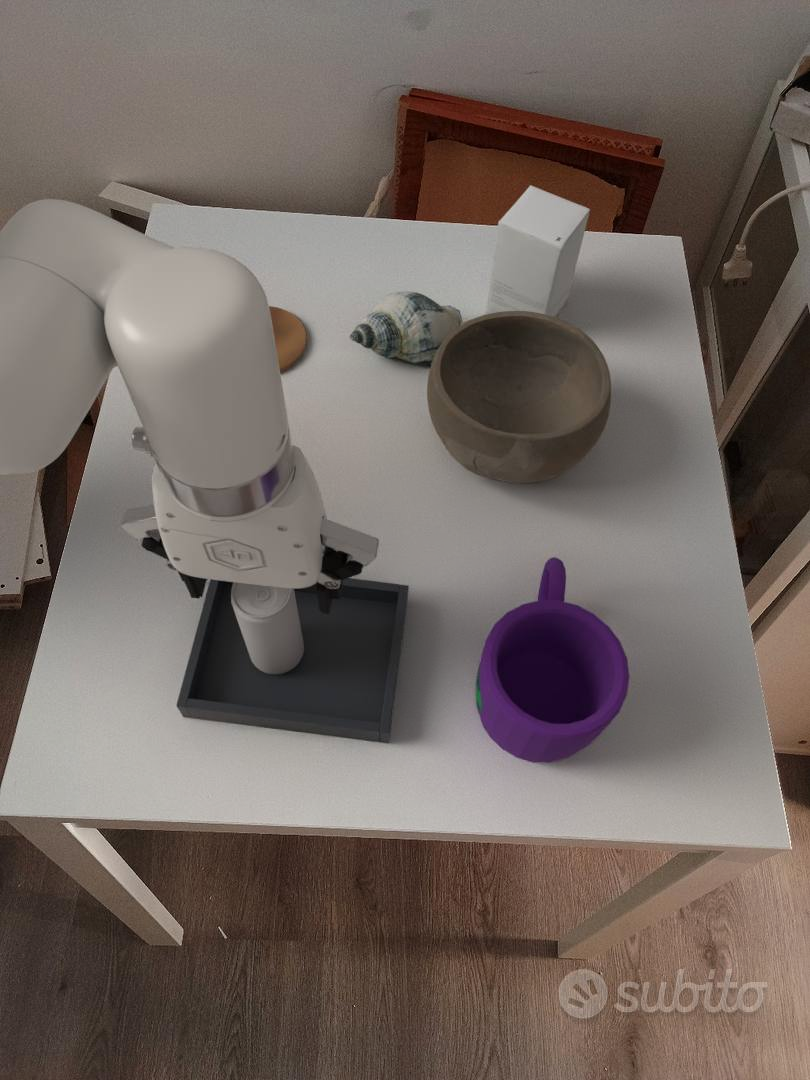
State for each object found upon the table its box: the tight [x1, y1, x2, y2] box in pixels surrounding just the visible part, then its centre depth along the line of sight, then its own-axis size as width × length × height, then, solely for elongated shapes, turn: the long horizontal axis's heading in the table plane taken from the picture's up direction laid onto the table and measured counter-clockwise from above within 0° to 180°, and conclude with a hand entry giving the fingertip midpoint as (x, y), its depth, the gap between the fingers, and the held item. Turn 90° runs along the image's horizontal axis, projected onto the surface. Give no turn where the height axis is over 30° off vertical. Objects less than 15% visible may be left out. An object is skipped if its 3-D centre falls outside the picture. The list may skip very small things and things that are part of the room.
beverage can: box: [231, 582, 304, 674], centre depth 68 cm, size 5×5×12 cm
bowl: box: [426, 311, 612, 484], centre depth 82 cm, size 17×18×10 cm
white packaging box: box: [485, 184, 591, 318], centre depth 90 cm, size 7×7×13 cm
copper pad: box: [268, 305, 308, 374], centre depth 91 cm, size 10×10×1 cm
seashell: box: [349, 290, 463, 365], centre depth 89 cm, size 6×8×12 cm
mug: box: [475, 556, 630, 764], centre depth 69 cm, size 17×11×10 cm, turn 172°
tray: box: [176, 577, 409, 744], centre depth 72 cm, size 18×14×3 cm
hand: (264, 588), depth 62 cm, fingers open, 9 cm apart
